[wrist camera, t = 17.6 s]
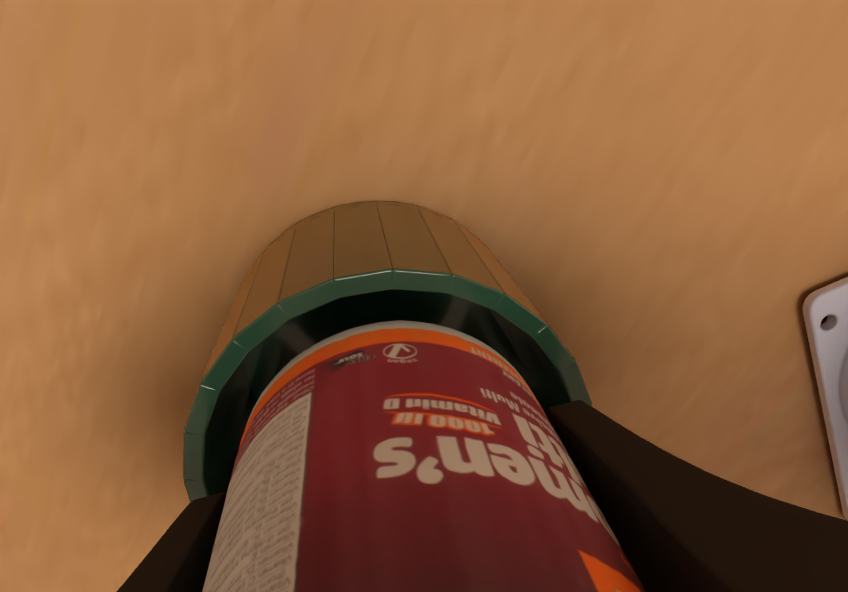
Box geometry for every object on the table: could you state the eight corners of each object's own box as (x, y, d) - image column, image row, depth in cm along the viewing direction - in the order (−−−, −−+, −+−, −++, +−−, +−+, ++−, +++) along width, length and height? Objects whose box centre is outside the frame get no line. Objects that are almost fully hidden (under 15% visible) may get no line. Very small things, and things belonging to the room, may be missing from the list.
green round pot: (555, 399, 20) (638, 532, 15) (311, 503, 20) (301, 674, 15) (458, 150, 17) (517, 197, 12) (173, 275, 17) (95, 382, 12)
